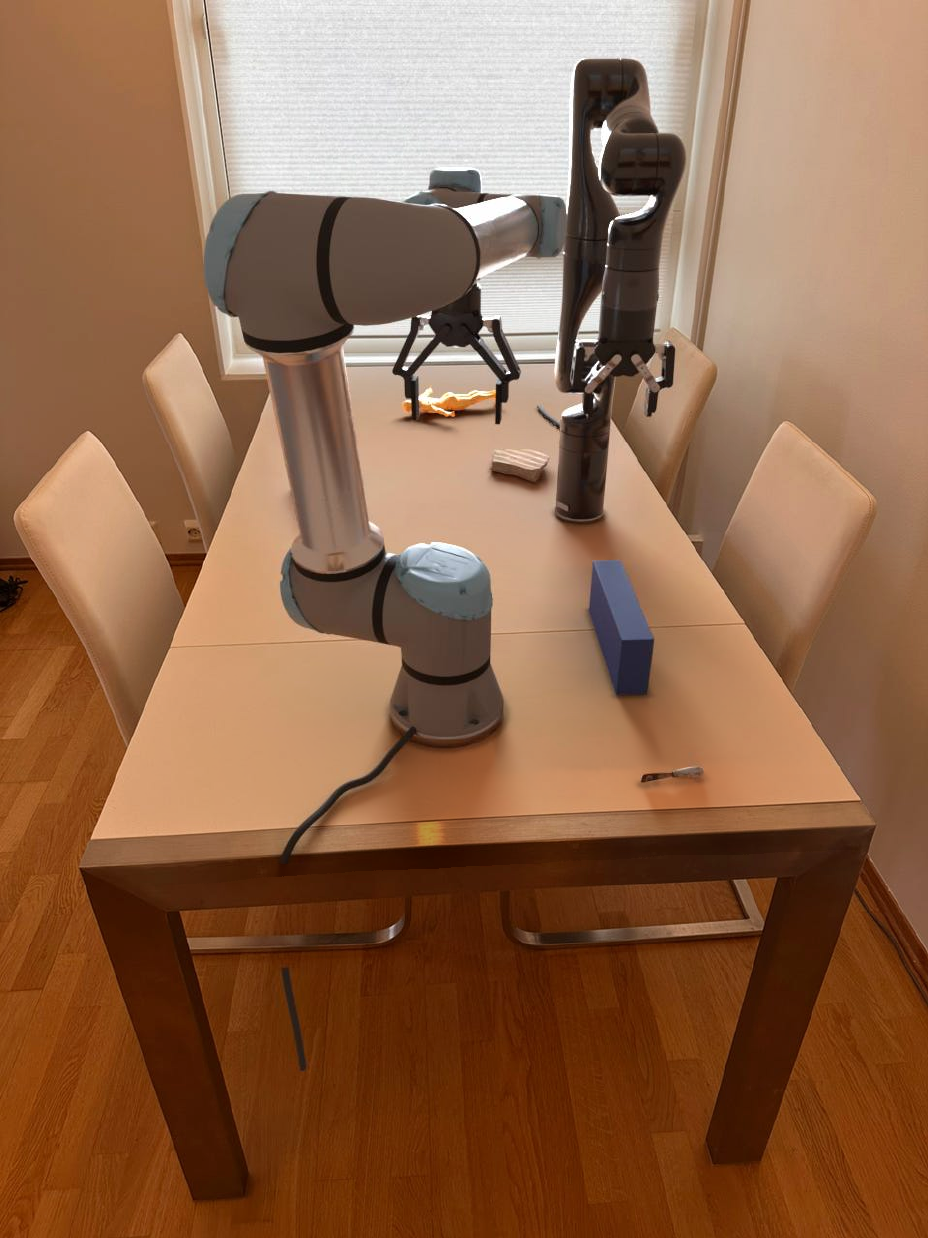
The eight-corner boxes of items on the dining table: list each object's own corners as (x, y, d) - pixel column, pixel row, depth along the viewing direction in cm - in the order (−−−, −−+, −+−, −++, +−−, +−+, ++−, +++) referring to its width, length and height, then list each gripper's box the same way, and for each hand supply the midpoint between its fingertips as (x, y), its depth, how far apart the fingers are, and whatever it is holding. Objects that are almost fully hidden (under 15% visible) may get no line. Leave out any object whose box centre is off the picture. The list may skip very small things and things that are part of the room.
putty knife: (703, 777, 109) (705, 767, 109) (642, 788, 108) (644, 777, 107) (700, 772, 110) (702, 762, 109) (639, 782, 109) (640, 771, 108)
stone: (554, 462, 195) (554, 451, 194) (536, 482, 186) (537, 471, 185) (499, 454, 200) (499, 444, 198) (479, 474, 190) (479, 463, 189)
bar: (647, 694, 124) (654, 639, 119) (616, 695, 124) (622, 640, 119) (615, 609, 143) (620, 559, 139) (588, 610, 143) (592, 560, 138)
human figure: (395, 413, 223) (394, 398, 221) (438, 390, 237) (438, 375, 235) (462, 429, 215) (462, 413, 213) (502, 404, 229) (503, 388, 227)
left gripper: (540, 279, 136) (535, 415, 147) (380, 275, 139) (386, 408, 150) (537, 289, 129) (531, 431, 140) (369, 285, 132) (376, 423, 143)
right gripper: (675, 292, 124) (661, 405, 133) (572, 294, 123) (565, 406, 132) (688, 307, 117) (672, 424, 126) (580, 309, 117) (572, 426, 126)
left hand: (456, 419), depth 145 cm, fingers open, 13 cm apart
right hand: (618, 415), depth 129 cm, fingers open, 8 cm apart
